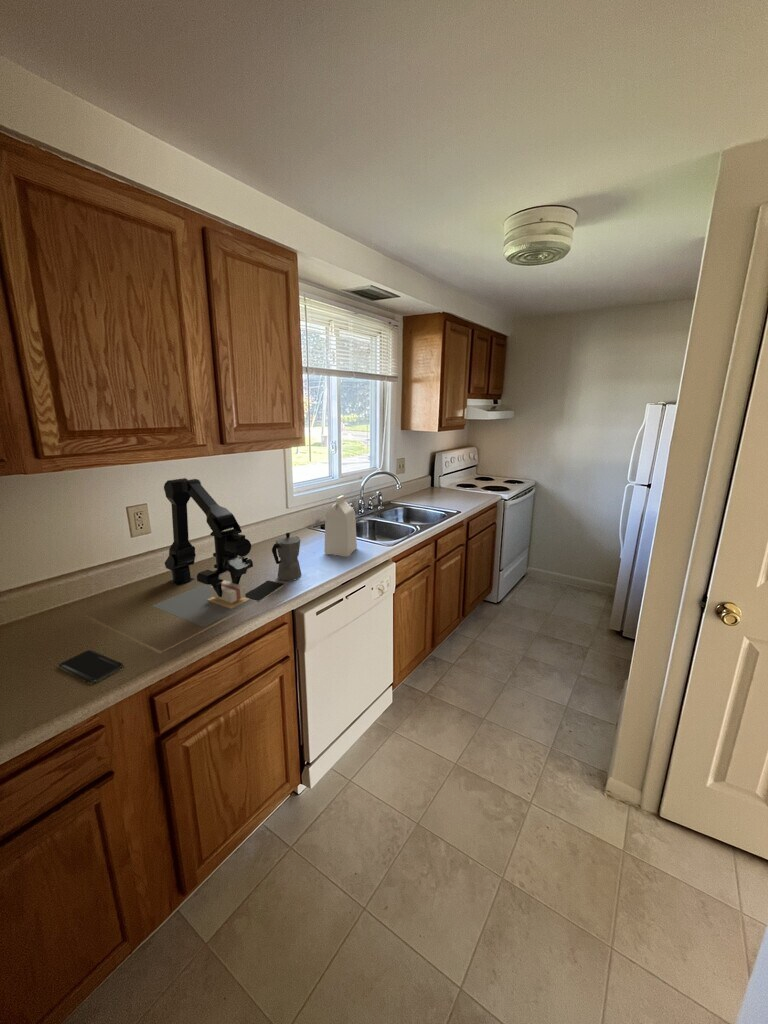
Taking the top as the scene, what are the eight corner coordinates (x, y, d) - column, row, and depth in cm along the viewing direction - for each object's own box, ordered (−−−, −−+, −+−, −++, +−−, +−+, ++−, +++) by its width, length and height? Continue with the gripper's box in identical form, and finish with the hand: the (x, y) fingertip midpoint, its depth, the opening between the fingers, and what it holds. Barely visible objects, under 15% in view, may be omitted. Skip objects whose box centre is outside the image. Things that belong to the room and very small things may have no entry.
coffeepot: (291, 568, 170) (289, 526, 166) (309, 573, 166) (308, 530, 162) (264, 582, 157) (262, 537, 152) (284, 587, 153) (281, 541, 148)
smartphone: (240, 596, 143) (267, 580, 157) (240, 599, 144) (267, 583, 157) (259, 600, 140) (285, 583, 154) (259, 604, 141) (285, 586, 154)
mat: (151, 607, 136) (151, 604, 136) (204, 585, 153) (203, 583, 153) (204, 628, 124) (203, 626, 123) (254, 602, 140) (254, 600, 140)
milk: (347, 556, 185) (347, 500, 178) (324, 554, 188) (323, 498, 181) (357, 548, 196) (357, 495, 190) (334, 545, 199) (333, 493, 193)
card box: (245, 596, 141) (245, 586, 140) (231, 603, 135) (230, 593, 135) (225, 589, 145) (224, 580, 144) (211, 595, 140) (210, 586, 139)
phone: (92, 682, 98) (56, 664, 104) (93, 686, 98) (57, 668, 104) (125, 664, 105) (89, 648, 111) (125, 668, 105) (90, 652, 111)
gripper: (217, 563, 125) (221, 610, 128) (263, 546, 140) (265, 588, 144) (193, 556, 130) (198, 601, 134) (240, 540, 146) (243, 581, 150)
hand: (228, 593), depth 140 cm, fingers closed on card box, 6 cm apart
